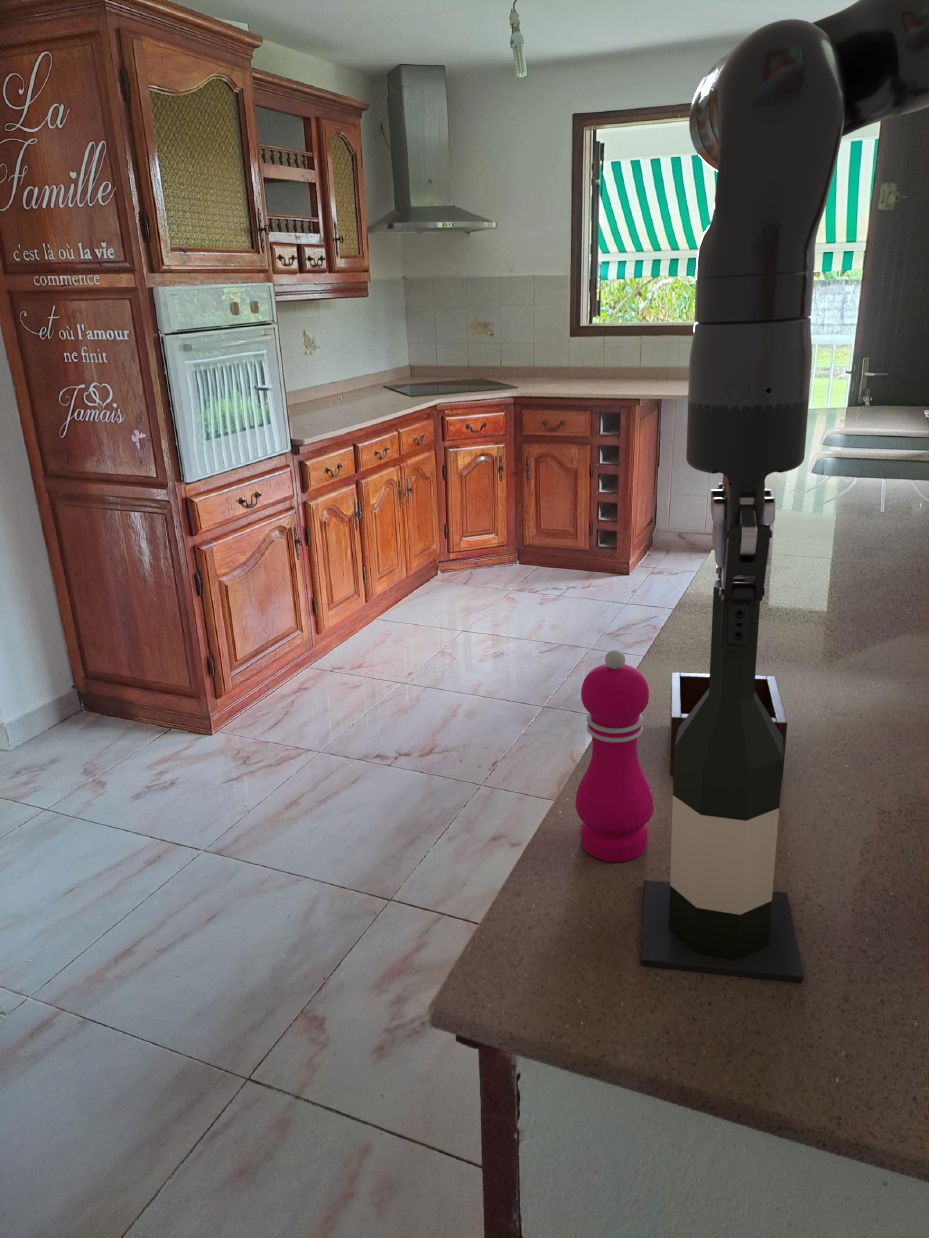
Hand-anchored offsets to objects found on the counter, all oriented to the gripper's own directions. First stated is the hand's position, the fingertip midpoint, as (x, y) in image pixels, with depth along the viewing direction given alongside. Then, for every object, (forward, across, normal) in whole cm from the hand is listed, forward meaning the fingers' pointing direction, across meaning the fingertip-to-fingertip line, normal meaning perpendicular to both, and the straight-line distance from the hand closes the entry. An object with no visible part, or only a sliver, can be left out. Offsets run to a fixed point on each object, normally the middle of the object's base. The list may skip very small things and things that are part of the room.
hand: (734, 637), depth 63 cm
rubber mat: (+26, 0, 0) cm, 26 cm away
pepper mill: (+26, +11, +9) cm, 30 cm away
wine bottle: (+25, 0, 0) cm, 25 cm away
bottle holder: (+26, +30, -2) cm, 40 cm away
